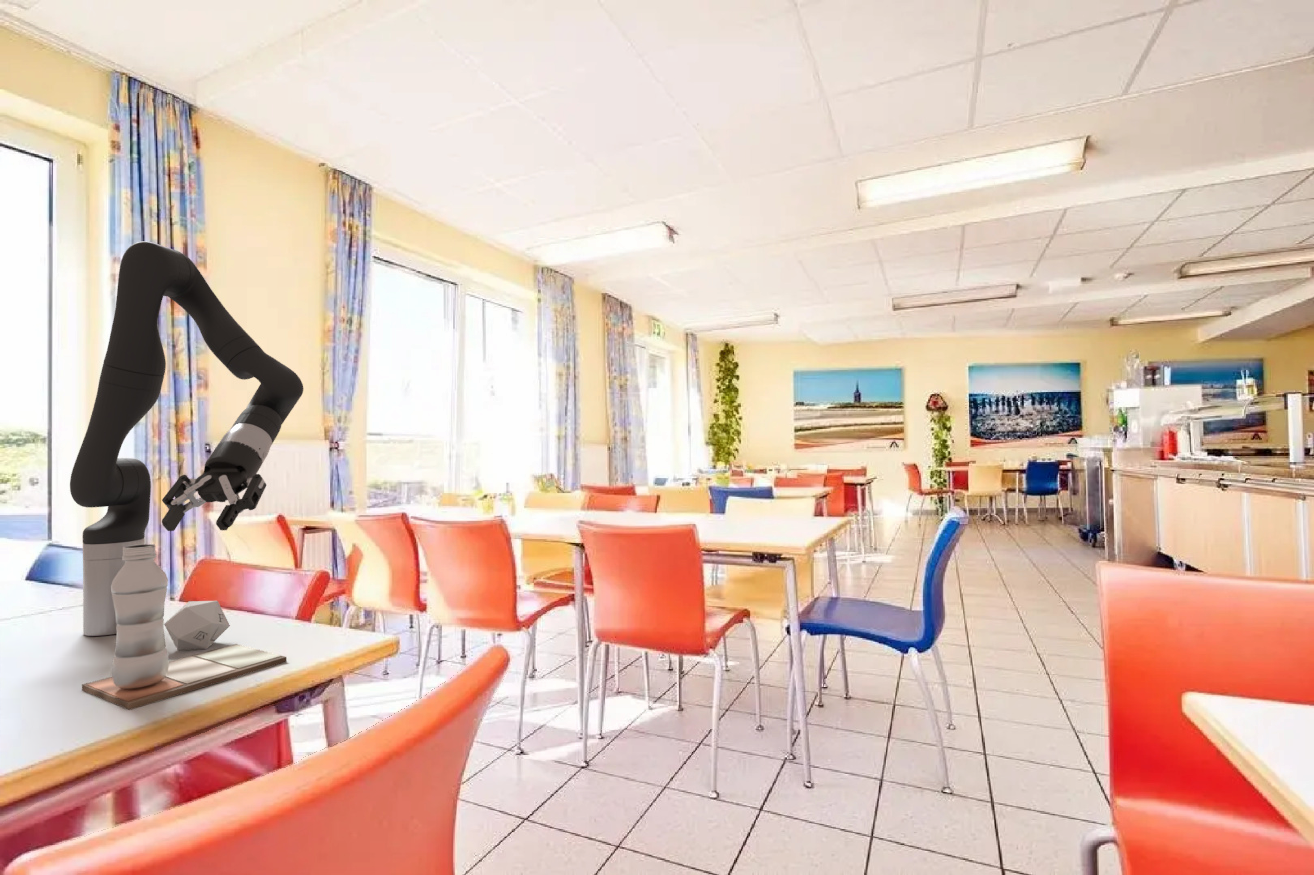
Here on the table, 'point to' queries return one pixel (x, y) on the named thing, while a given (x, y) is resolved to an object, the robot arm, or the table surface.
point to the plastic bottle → (139, 619)
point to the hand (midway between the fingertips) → (194, 527)
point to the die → (197, 625)
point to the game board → (188, 675)
